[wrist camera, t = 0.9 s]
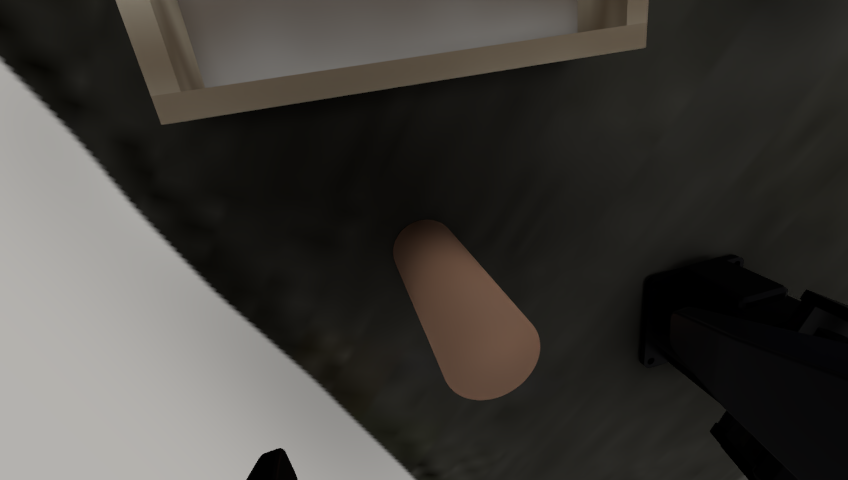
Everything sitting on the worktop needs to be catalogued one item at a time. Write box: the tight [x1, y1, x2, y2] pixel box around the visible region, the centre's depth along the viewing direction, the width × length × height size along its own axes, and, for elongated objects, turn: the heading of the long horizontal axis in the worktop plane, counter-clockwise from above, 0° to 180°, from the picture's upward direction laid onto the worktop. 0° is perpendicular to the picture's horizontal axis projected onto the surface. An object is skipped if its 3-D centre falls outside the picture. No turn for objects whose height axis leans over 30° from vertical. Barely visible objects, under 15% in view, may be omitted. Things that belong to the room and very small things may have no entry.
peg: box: [393, 220, 540, 400], centre depth 17 cm, size 3×3×9 cm
